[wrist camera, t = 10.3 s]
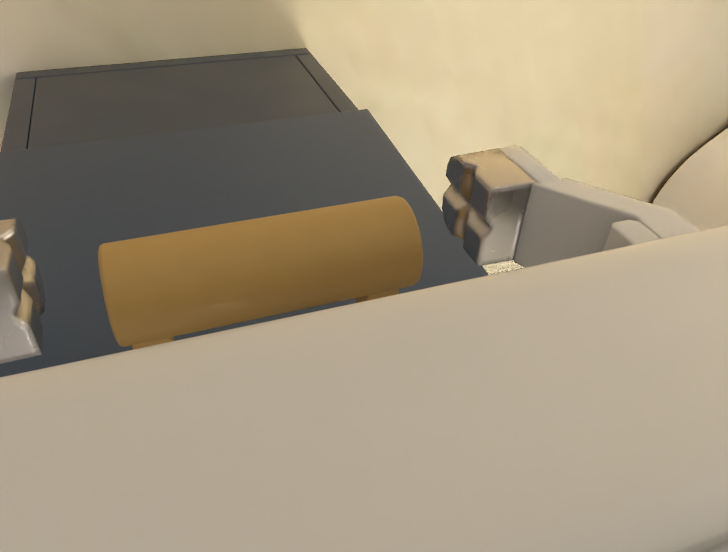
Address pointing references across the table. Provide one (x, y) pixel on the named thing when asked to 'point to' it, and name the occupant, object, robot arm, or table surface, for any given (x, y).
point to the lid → (220, 230)
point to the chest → (166, 97)
